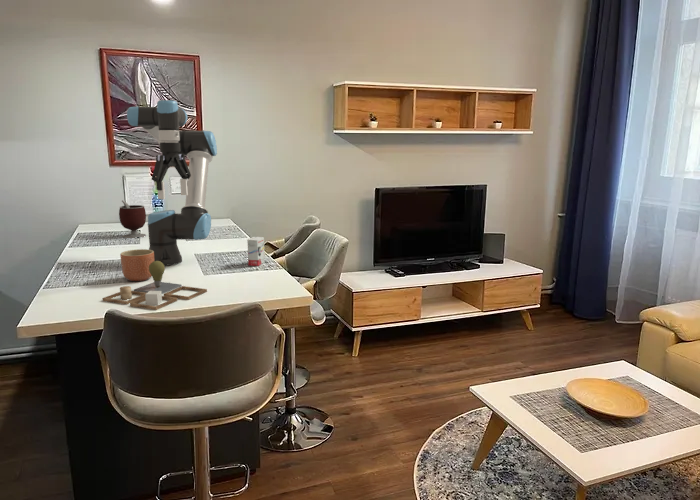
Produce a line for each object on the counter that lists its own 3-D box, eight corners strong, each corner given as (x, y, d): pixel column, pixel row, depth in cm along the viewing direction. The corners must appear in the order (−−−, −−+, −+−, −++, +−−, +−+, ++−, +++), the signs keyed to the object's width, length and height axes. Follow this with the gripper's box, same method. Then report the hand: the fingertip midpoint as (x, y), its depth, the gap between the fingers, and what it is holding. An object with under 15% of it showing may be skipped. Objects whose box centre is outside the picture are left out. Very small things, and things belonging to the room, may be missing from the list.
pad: (133, 291, 193) (133, 289, 193) (156, 282, 204) (156, 281, 204) (160, 294, 189) (160, 293, 189) (181, 286, 200) (181, 284, 200)
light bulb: (152, 285, 199) (150, 259, 197) (167, 284, 200) (165, 259, 198) (148, 289, 194) (146, 262, 192) (163, 288, 194) (162, 262, 192)
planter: (135, 285, 201) (133, 257, 199) (115, 280, 208) (113, 253, 205) (162, 278, 212) (160, 251, 209) (142, 273, 218) (140, 247, 216)
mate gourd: (152, 236, 300) (150, 201, 295) (131, 239, 288) (128, 203, 284) (135, 233, 308) (132, 199, 303) (114, 236, 296) (110, 201, 292)
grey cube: (146, 305, 177) (145, 294, 177) (150, 301, 181) (149, 290, 181) (157, 305, 177) (157, 294, 177) (162, 302, 181) (161, 290, 181)
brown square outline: (163, 296, 187) (163, 293, 187) (182, 288, 197) (182, 286, 197) (188, 299, 184) (188, 297, 183) (207, 291, 193) (206, 289, 193)
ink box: (258, 266, 231) (257, 240, 229) (247, 265, 232) (246, 239, 230) (265, 262, 240) (264, 236, 237) (254, 261, 241) (254, 236, 238)
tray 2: (130, 306, 176) (130, 303, 176) (152, 297, 186) (152, 294, 186) (156, 309, 173) (155, 307, 172) (177, 300, 182) (177, 298, 182)
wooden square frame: (102, 300, 182) (102, 298, 181) (125, 292, 191) (125, 289, 191) (127, 304, 178) (126, 301, 178) (149, 295, 188) (149, 293, 188)
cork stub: (118, 299, 184) (117, 288, 183) (126, 296, 187) (125, 285, 186) (126, 300, 182) (125, 289, 182) (134, 297, 186) (133, 286, 185)
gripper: (155, 142, 189) (159, 201, 194) (197, 141, 212) (200, 194, 217) (138, 142, 192) (143, 200, 197) (182, 141, 215) (185, 193, 219)
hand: (173, 197), depth 207 cm, fingers open, 13 cm apart
